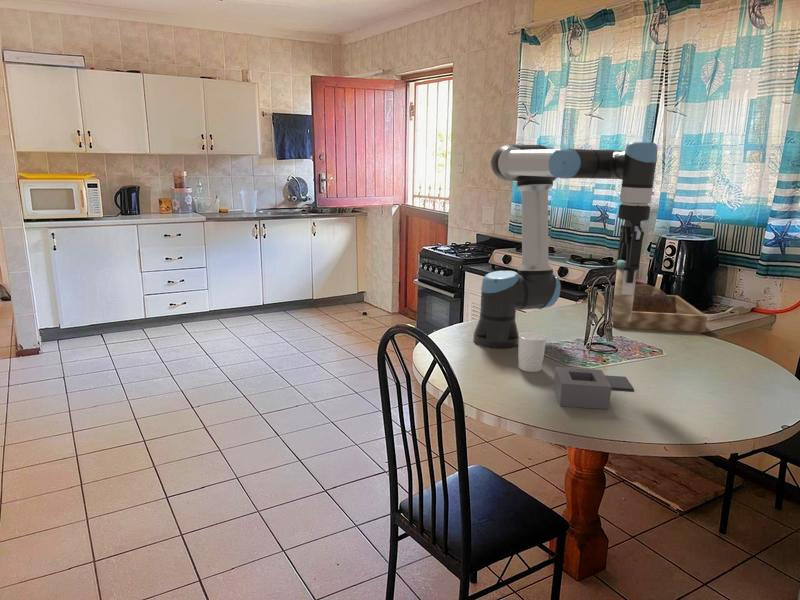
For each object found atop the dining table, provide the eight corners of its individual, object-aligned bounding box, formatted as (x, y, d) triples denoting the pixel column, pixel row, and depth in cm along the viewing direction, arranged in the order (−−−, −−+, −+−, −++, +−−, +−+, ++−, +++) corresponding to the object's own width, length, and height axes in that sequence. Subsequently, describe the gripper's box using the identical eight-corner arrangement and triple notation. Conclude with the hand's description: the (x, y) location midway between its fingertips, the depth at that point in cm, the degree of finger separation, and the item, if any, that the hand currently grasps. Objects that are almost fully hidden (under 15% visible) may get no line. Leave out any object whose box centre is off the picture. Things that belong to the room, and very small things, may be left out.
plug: (613, 321, 157) (620, 262, 153) (608, 316, 162) (615, 259, 158) (633, 322, 157) (640, 263, 153) (628, 317, 162) (635, 260, 158)
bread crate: (611, 326, 218) (613, 311, 217) (594, 305, 249) (595, 291, 248) (704, 332, 215) (707, 316, 213) (675, 309, 246) (677, 295, 244)
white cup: (544, 365, 176) (547, 333, 174) (542, 374, 169) (545, 341, 167) (518, 362, 179) (520, 330, 176) (514, 370, 172) (517, 338, 169)
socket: (559, 405, 148) (561, 383, 147) (553, 387, 160) (555, 366, 158) (608, 409, 147) (611, 386, 146) (598, 390, 159) (601, 369, 157)
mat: (599, 388, 160) (599, 386, 160) (593, 376, 169) (593, 374, 169) (633, 390, 159) (634, 388, 159) (625, 378, 168) (625, 376, 168)
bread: (599, 320, 227) (603, 287, 224) (609, 305, 250) (612, 275, 247) (673, 331, 216) (678, 296, 213) (676, 314, 239) (680, 282, 236)
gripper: (661, 207, 143) (648, 300, 148) (640, 201, 160) (629, 285, 166) (628, 206, 143) (617, 299, 149) (611, 200, 161) (602, 283, 167)
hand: (624, 291), depth 157 cm, fingers closed on plug, 5 cm apart
